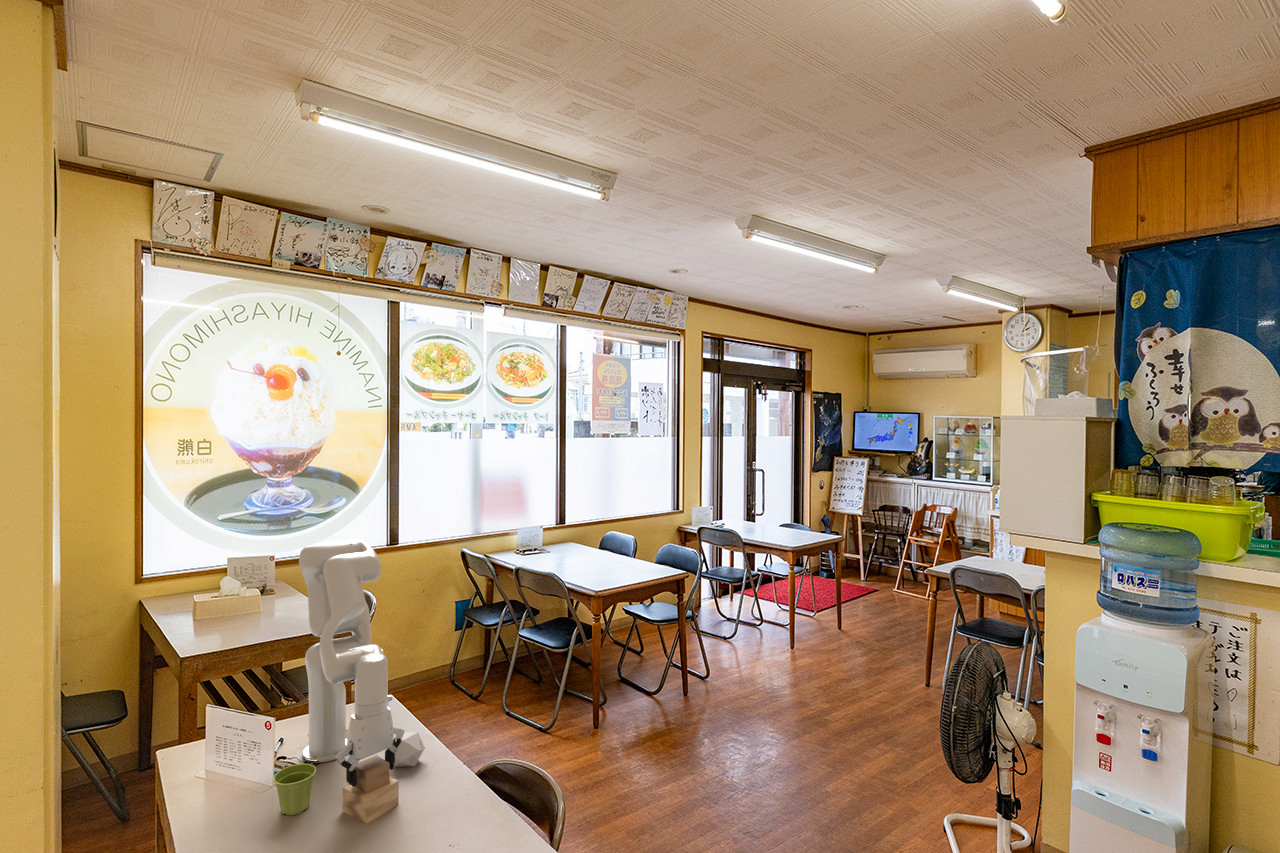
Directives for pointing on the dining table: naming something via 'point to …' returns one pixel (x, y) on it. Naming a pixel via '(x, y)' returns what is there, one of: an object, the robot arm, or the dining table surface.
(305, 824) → the dining table surface
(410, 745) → the die
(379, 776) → the walnut block
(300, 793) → the plant pot
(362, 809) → the oak base
